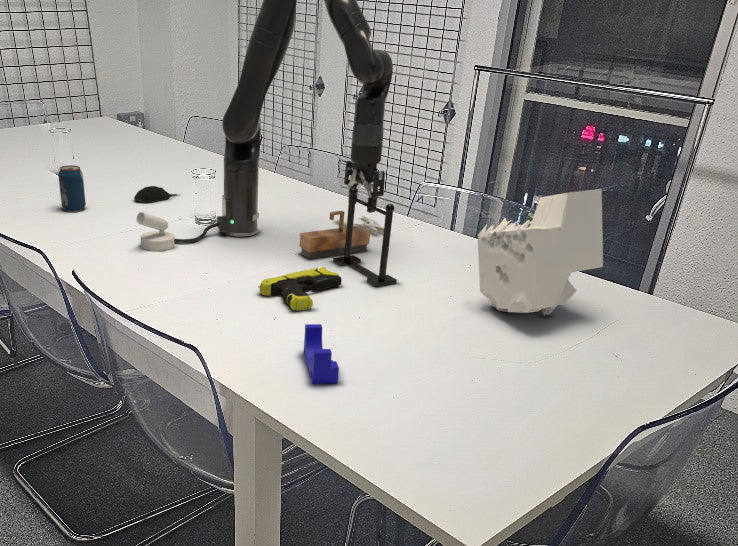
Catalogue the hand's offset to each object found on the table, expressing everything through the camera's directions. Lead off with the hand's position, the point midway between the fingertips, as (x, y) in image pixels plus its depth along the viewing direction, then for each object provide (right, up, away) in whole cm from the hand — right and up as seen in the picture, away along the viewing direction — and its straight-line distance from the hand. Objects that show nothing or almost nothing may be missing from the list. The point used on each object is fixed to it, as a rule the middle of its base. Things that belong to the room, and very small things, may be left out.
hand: (361, 207), depth 190 cm
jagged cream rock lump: (+32, -30, -27) cm, 51 cm away
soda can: (-81, +8, +31) cm, 87 cm away
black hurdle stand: (-1, -18, -9) cm, 21 cm away
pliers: (+4, 0, +22) cm, 23 cm away
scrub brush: (-7, -11, +3) cm, 13 cm away
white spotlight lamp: (-53, -9, +4) cm, 54 cm away
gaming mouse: (-58, +14, +43) cm, 74 cm away
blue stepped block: (-15, -44, -53) cm, 71 cm away
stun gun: (-15, -26, -22) cm, 37 cm away
